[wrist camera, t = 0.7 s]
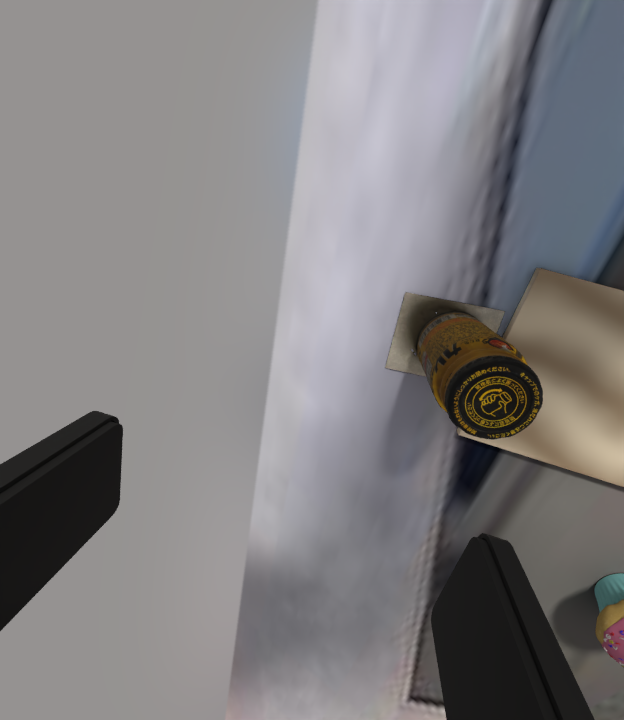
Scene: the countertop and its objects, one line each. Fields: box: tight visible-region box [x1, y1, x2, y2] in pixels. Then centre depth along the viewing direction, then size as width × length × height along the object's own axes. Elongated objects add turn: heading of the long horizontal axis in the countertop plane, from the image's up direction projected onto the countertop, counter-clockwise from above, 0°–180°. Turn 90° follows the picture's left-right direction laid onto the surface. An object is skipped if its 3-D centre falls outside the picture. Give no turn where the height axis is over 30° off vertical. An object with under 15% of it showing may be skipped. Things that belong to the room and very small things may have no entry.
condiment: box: [385, 292, 543, 440], centre depth 25 cm, size 7×8×12 cm
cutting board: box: [457, 268, 624, 487], centre depth 29 cm, size 16×21×1 cm
